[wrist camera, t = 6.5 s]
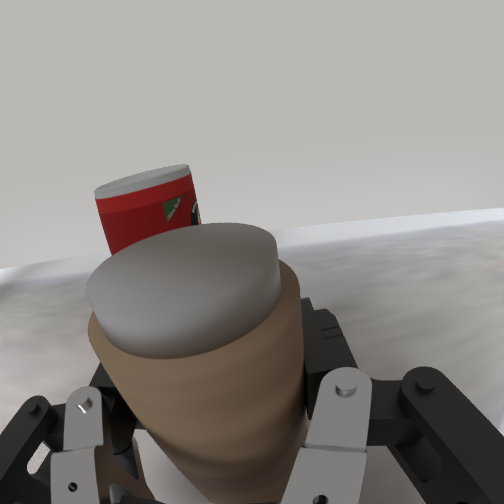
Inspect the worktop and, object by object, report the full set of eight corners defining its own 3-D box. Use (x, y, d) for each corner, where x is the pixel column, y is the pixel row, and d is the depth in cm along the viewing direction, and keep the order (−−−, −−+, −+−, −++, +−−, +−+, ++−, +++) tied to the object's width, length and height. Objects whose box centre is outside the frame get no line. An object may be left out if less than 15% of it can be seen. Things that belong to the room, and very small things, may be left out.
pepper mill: (285, 524, 7) (234, 361, 3) (172, 487, 9) (34, 301, 5) (319, 429, 12) (315, 216, 8) (220, 409, 14) (159, 221, 10)
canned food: (210, 321, 21) (174, 172, 17) (119, 326, 22) (73, 198, 17) (221, 273, 28) (198, 159, 24) (147, 281, 29) (118, 178, 24)
